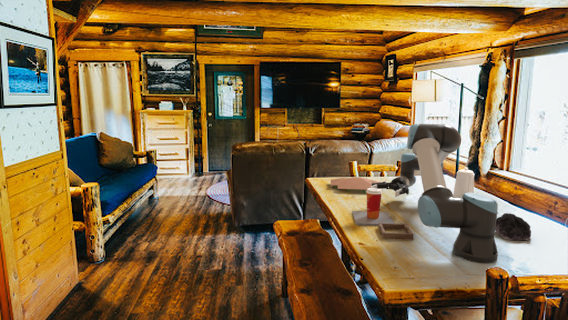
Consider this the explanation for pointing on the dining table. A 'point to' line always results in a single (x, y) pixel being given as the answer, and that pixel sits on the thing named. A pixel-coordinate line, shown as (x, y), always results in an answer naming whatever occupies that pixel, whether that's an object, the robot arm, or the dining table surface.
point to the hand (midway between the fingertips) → (383, 191)
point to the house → (353, 183)
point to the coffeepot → (464, 182)
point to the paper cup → (373, 202)
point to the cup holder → (399, 236)
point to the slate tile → (362, 219)
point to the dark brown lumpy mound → (512, 227)
